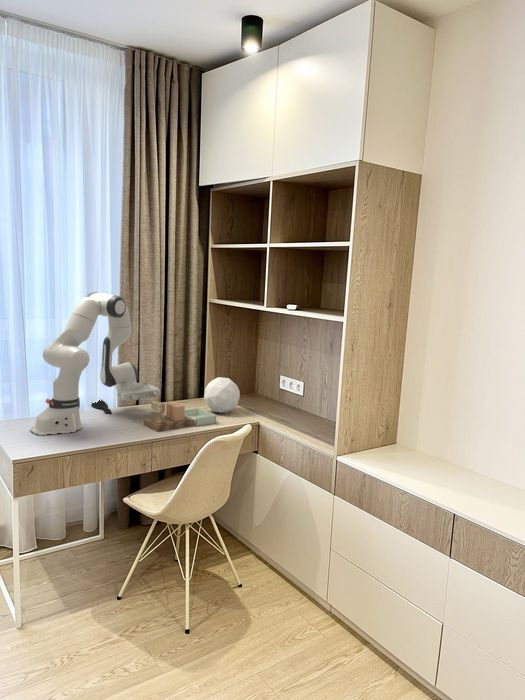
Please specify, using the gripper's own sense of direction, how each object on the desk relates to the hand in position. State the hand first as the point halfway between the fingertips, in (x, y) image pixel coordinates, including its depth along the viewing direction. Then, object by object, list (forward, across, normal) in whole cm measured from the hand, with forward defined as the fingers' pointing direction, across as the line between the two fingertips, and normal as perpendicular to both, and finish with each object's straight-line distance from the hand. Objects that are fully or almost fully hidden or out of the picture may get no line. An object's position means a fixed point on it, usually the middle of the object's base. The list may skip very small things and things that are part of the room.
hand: (147, 396), depth 267 cm
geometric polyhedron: (+4, +42, +13) cm, 45 cm away
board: (+12, +5, +12) cm, 18 cm away
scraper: (+12, -1, +9) cm, 15 cm away
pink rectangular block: (+10, +9, +9) cm, 16 cm away
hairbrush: (-32, -10, +13) cm, 35 cm away
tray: (+12, +22, +13) cm, 28 cm away
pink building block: (+15, +9, +9) cm, 20 cm away
